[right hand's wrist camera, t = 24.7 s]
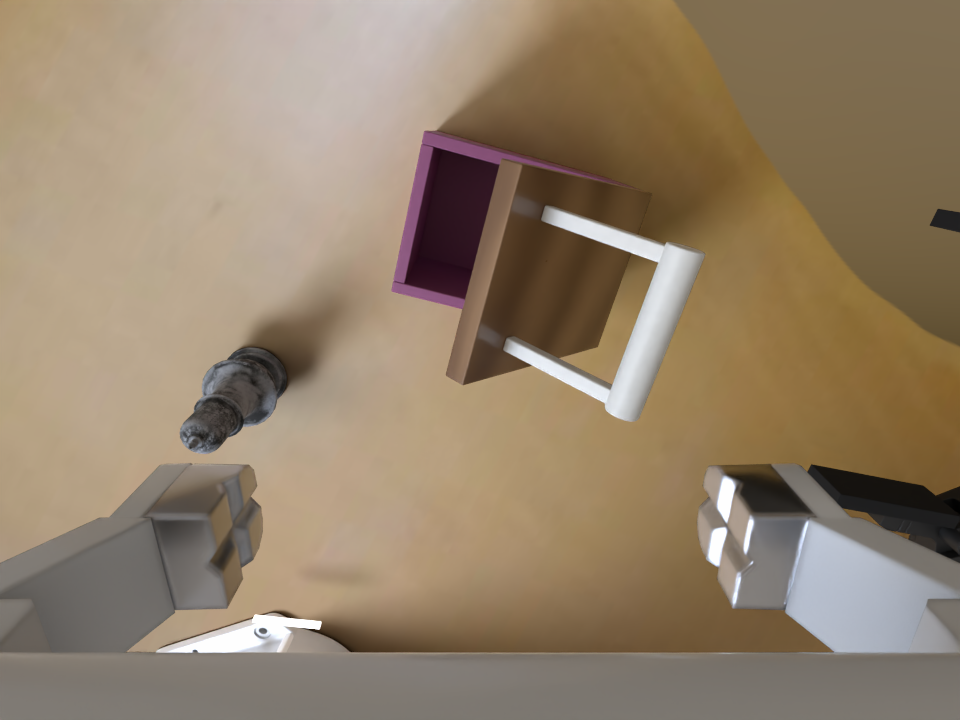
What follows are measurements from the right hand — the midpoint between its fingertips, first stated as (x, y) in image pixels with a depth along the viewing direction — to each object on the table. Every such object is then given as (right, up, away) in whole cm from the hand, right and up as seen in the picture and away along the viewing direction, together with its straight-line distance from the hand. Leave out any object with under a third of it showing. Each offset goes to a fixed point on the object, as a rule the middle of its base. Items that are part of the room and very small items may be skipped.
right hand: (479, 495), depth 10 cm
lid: (+4, +7, +20) cm, 21 cm away
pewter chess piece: (-19, +1, +39) cm, 43 cm away
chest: (+2, +13, +34) cm, 36 cm away
